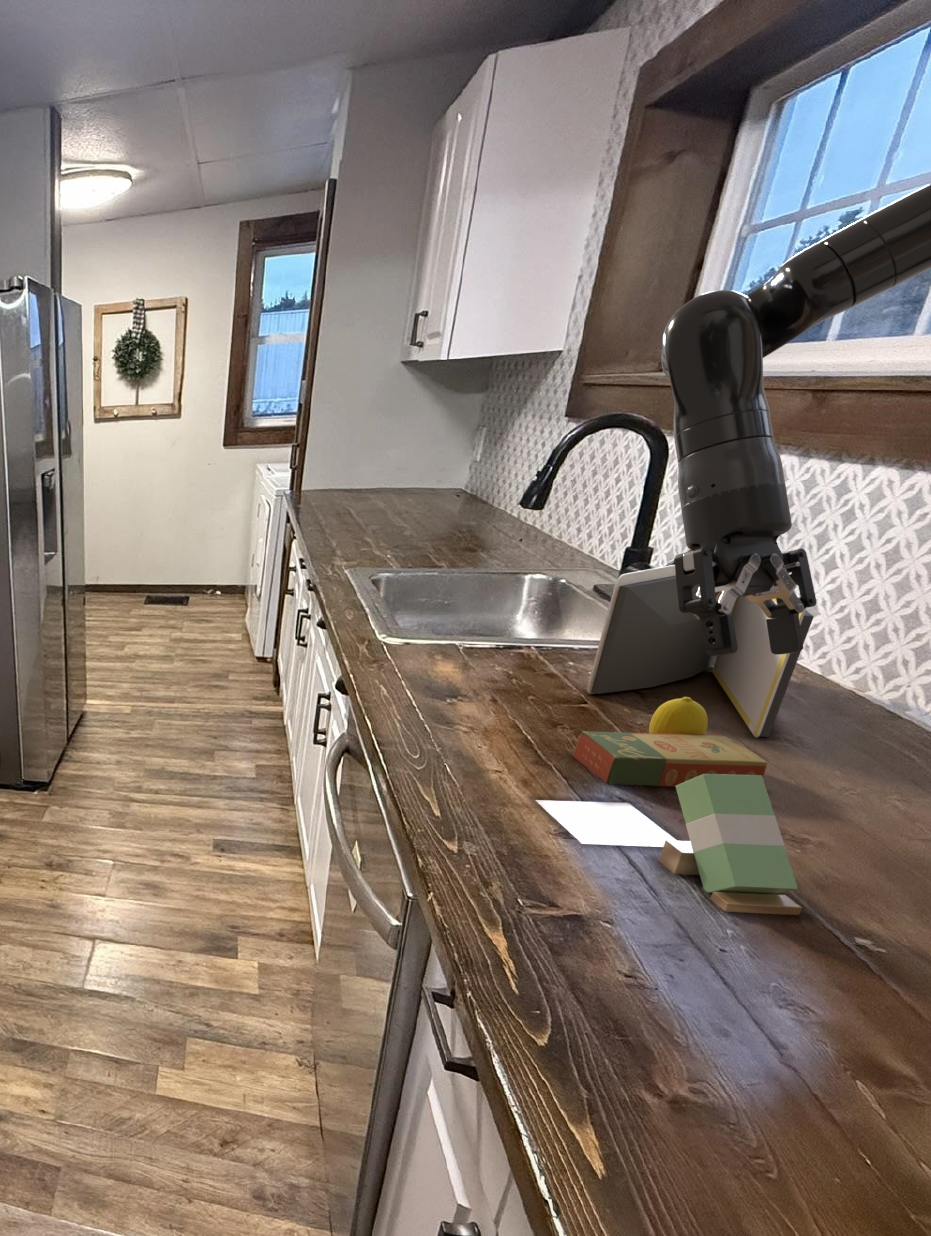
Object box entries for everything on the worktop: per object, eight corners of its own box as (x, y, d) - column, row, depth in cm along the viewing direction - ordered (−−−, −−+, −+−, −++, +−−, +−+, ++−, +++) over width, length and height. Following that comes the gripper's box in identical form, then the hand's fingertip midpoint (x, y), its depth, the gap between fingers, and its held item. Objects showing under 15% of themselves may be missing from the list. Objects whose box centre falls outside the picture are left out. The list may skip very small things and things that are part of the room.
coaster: (627, 805, 91) (628, 802, 91) (686, 851, 82) (687, 848, 81) (534, 802, 92) (534, 799, 92) (581, 847, 83) (582, 844, 83)
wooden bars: (657, 863, 80) (665, 839, 79) (734, 866, 79) (743, 842, 78) (717, 914, 72) (727, 888, 71) (804, 918, 71) (815, 892, 70)
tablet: (793, 746, 103) (850, 603, 95) (590, 719, 114) (627, 589, 106) (729, 669, 130) (769, 553, 123) (570, 653, 141) (598, 546, 134)
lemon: (704, 763, 99) (725, 706, 96) (652, 759, 101) (671, 703, 98) (683, 746, 104) (702, 691, 101) (634, 742, 106) (651, 688, 103)
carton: (758, 793, 92) (771, 761, 90) (604, 786, 95) (614, 755, 94) (712, 763, 99) (723, 732, 98) (571, 757, 103) (579, 728, 101)
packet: (652, 850, 82) (683, 761, 78) (706, 852, 81) (740, 762, 77) (725, 911, 72) (764, 813, 68) (787, 914, 72) (831, 815, 68)
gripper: (720, 478, 72) (746, 648, 71) (831, 482, 75) (858, 645, 74) (636, 507, 79) (658, 662, 78) (740, 510, 83) (763, 659, 81)
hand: (755, 654), depth 76 cm, fingers open, 8 cm apart
